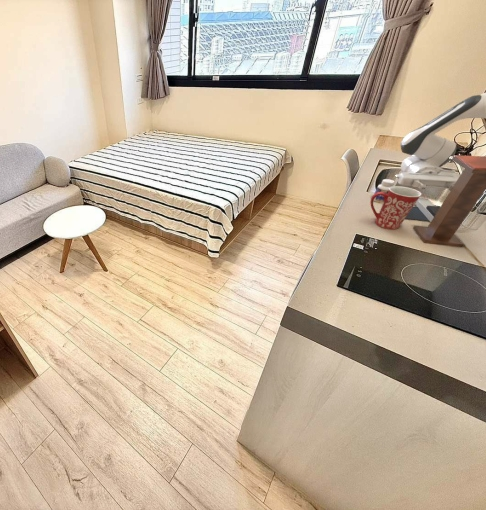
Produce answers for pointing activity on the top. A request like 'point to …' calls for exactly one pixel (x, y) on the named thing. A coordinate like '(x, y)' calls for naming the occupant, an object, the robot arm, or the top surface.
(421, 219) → the mat
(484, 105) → the robot arm
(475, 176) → the shelf stand
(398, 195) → the mug
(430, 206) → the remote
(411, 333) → the top surface
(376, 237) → the top surface
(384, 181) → the pill bottle
